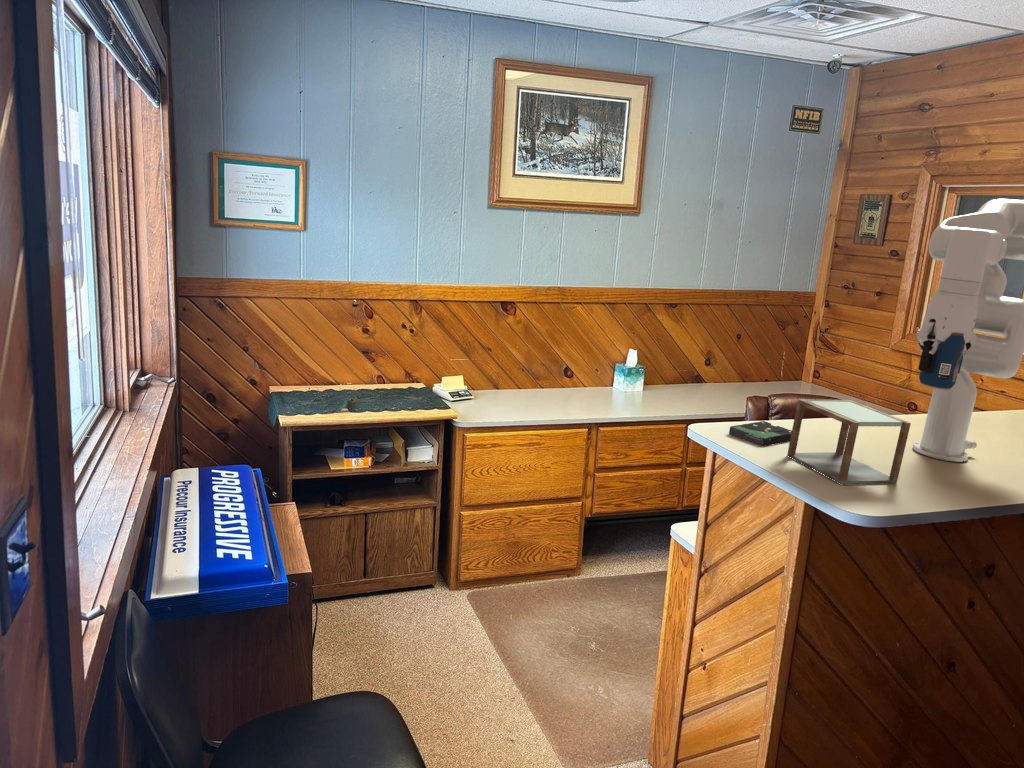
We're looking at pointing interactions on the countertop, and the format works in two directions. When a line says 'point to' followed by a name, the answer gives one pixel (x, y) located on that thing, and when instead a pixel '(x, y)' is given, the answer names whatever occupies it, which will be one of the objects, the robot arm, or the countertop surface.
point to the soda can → (945, 363)
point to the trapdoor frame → (845, 450)
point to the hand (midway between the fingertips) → (938, 371)
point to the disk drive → (761, 433)
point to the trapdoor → (858, 413)
